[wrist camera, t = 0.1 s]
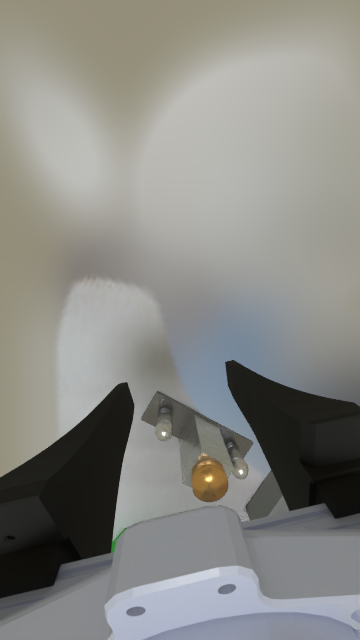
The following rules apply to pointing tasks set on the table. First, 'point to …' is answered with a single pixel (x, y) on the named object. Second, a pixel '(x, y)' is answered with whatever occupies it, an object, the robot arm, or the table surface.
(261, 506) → the bin
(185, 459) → the pedestal with gold ball
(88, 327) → the table surface
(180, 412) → the stud posts
